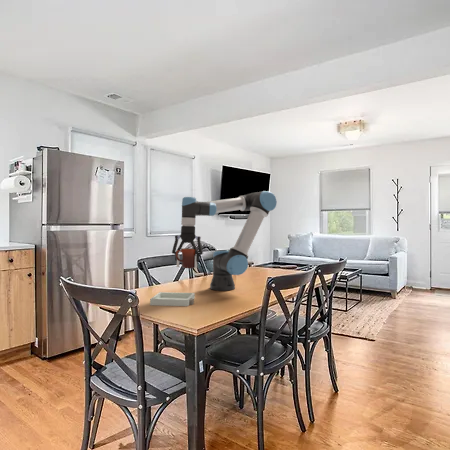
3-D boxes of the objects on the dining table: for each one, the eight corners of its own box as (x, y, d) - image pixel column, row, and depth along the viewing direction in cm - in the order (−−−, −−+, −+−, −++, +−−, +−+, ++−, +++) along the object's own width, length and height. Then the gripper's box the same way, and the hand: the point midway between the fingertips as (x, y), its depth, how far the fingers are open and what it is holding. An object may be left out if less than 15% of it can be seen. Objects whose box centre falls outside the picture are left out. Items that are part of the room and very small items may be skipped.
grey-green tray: (197, 298, 190) (197, 293, 190) (191, 306, 173) (191, 300, 173) (159, 297, 192) (159, 292, 192) (150, 305, 175) (150, 299, 175)
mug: (192, 266, 199) (193, 248, 199) (199, 268, 191) (200, 249, 191) (172, 267, 193) (173, 248, 193) (178, 269, 185) (179, 249, 185)
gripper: (209, 226, 195) (207, 267, 195) (170, 225, 197) (169, 265, 197) (206, 226, 187) (205, 269, 187) (166, 224, 190) (165, 267, 190)
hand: (186, 267), depth 192 cm, fingers closed on mug, 9 cm apart
